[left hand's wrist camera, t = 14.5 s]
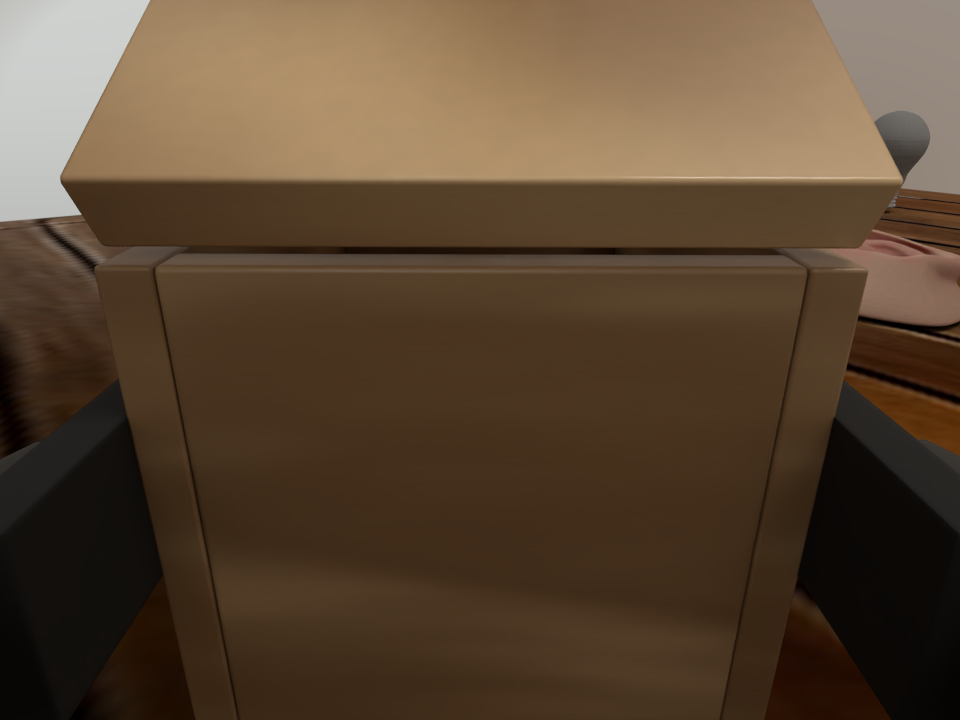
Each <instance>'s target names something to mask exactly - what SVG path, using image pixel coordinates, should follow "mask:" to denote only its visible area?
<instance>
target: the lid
mask: <svg viewBox="0 0 960 720" xmlns="http://www.w3.org/2000/svg"><path fill="white" fill-rule="evenodd" d="M60 179H61V184H62V185H63V187H64V188H65V190H66V191H67V193H68V194H69V196H70V197H71V199H72V200H73V202H74V203H75V205H76V206H77V208H78V210H79V211H80V213H81V214H82V216H83V217H84V219H85V220H86V222H87V223H88V225H89V226H90V228H91V229H92V231H93V232H94V234H95V235H96V237H97V239H98V240H99V242H100V243H101V244H102V245H104V246H148V247H481V248H815V249H856V248H859V247H860V246H862V245H863V243H864V242H865V240H866V239H867V237H868V236H869V234H870V233H871V231H872V230H873V228H874V227H875V225H876V224H877V222H878V221H879V219H880V218H881V216H882V215H883V213H884V212H885V210H886V209H887V207H888V206H889V204H890V203H891V201H892V200H893V198H894V197H895V195H896V194H897V192H898V191H899V189H900V188H901V186H902V183H903V178H902V176H901V174H900V172H899V170H898V168H897V166H896V164H895V162H894V160H893V158H892V156H891V155H890V153H889V151H888V149H887V147H886V145H885V143H884V141H883V139H882V137H881V135H880V133H879V131H878V129H877V127H876V125H875V123H874V121H873V119H872V117H871V116H870V114H869V112H868V110H867V108H866V106H865V104H864V102H863V100H862V98H861V96H860V94H859V92H858V90H857V88H856V86H855V84H854V82H853V80H852V78H851V76H850V74H849V73H848V71H847V69H846V67H845V65H844V63H843V61H842V59H841V57H840V55H839V53H838V51H837V49H836V47H835V45H834V43H833V41H832V39H831V37H830V35H829V33H828V31H827V29H826V28H825V26H824V24H823V22H822V20H821V18H820V16H819V14H818V12H817V10H816V8H815V6H814V4H813V2H812V0H150V2H149V4H148V6H147V8H146V10H145V12H144V14H143V16H142V18H141V20H140V22H139V24H138V26H137V28H136V29H135V31H134V34H133V35H132V37H131V39H130V41H129V43H128V45H127V47H126V49H125V51H124V53H123V55H122V57H121V59H120V61H119V63H118V65H117V67H116V68H115V70H114V72H113V74H112V76H111V78H110V80H109V82H108V84H107V86H106V88H105V90H104V92H103V94H102V96H101V98H100V100H99V102H98V104H97V106H96V107H95V109H94V111H93V113H92V115H91V117H90V119H89V121H88V123H87V125H86V127H85V129H84V131H83V133H82V135H81V137H80V139H79V141H78V143H77V145H76V146H75V148H74V150H73V152H72V154H71V156H70V158H69V160H68V162H67V164H66V166H65V168H64V170H63V172H62V174H61V176H60Z"/></svg>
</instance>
